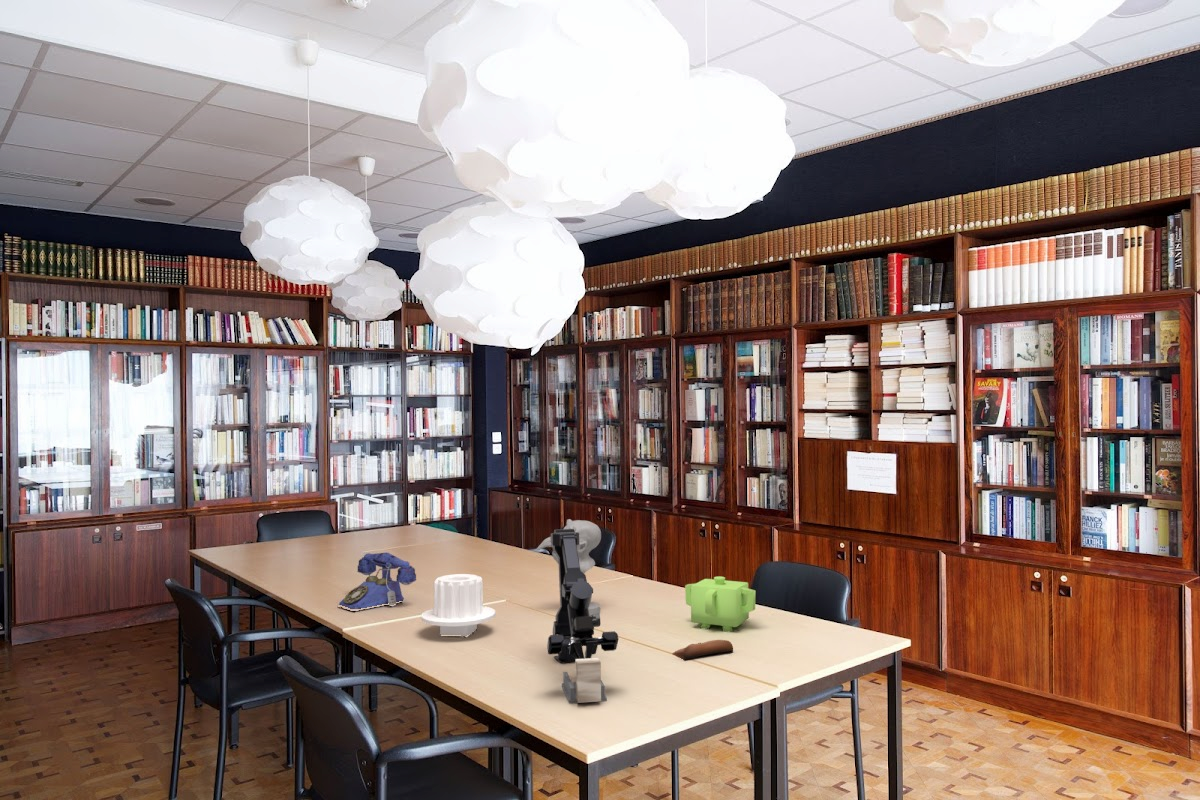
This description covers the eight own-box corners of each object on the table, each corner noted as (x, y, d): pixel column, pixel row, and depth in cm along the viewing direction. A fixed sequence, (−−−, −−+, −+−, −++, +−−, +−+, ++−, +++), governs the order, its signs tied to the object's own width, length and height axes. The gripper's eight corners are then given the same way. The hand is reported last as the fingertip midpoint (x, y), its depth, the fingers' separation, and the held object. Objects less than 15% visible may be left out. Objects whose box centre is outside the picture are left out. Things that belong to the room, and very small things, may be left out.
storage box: (674, 629, 287) (674, 579, 288) (698, 615, 307) (697, 568, 308) (744, 638, 276) (743, 586, 276) (764, 622, 296) (763, 574, 296)
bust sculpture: (541, 607, 322) (540, 516, 323) (603, 607, 321) (602, 516, 322) (535, 617, 306) (534, 522, 307) (600, 617, 305) (599, 522, 305)
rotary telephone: (316, 601, 337) (316, 552, 338) (370, 592, 355) (369, 544, 355) (369, 618, 308) (369, 564, 309) (425, 607, 326) (424, 555, 326)
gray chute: (561, 685, 229) (561, 672, 229) (597, 683, 231) (597, 669, 231) (568, 703, 216) (568, 688, 216) (606, 700, 217) (606, 685, 217)
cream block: (575, 697, 217) (575, 659, 217) (598, 696, 218) (597, 657, 218) (578, 702, 213) (577, 663, 213) (601, 701, 214) (600, 662, 214)
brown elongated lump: (718, 645, 267) (723, 630, 264) (729, 661, 261) (735, 646, 258) (669, 653, 259) (675, 637, 256) (680, 670, 253) (686, 654, 250)
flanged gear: (481, 644, 271) (480, 586, 271) (409, 641, 276) (408, 584, 276) (504, 625, 296) (504, 572, 296) (438, 622, 301) (438, 570, 301)
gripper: (548, 605, 222) (553, 658, 211) (616, 601, 225) (625, 653, 214) (545, 627, 230) (550, 680, 219) (611, 623, 233) (619, 675, 222)
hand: (586, 671), depth 218 cm, fingers closed, pressing on cream block
